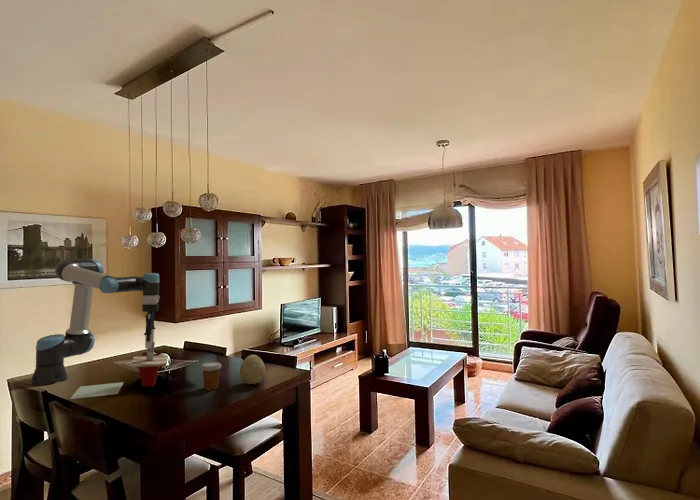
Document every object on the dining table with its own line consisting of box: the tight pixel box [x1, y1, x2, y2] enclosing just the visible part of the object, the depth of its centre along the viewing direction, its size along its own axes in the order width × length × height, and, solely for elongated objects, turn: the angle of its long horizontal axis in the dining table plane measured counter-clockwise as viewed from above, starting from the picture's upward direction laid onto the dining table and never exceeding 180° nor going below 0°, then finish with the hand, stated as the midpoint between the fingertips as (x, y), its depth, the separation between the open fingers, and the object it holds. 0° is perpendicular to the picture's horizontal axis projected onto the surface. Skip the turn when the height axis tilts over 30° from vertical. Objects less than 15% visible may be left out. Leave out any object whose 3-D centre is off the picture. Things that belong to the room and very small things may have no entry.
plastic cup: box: [138, 366, 160, 388], centre depth 198 cm, size 11×11×12 cm
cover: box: [129, 341, 169, 368], centre depth 198 cm, size 16×16×10 cm
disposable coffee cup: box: [201, 361, 223, 391], centre depth 194 cm, size 10×10×12 cm
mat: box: [69, 381, 124, 400], centre depth 189 cm, size 19×19×1 cm
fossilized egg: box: [239, 354, 266, 385], centre depth 201 cm, size 13×13×15 cm
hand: (149, 345), depth 198 cm, fingers open, 13 cm apart
